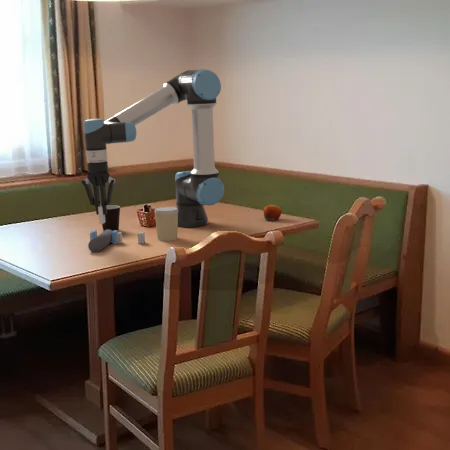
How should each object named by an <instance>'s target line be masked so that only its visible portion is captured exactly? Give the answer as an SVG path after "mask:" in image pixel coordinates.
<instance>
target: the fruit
mask: <svg viewBox="0 0 450 450" xmlns="http://www.w3.org/2000/svg"><path fill="white" fill-rule="evenodd" d="M282 213H283V210H282V208H281V207H280V206H278V205H276V204H269V205H266V206H264V208H263V217H264V219H265V220H266V221H273V222H275V221H278V220H279V219H280V217H281V216H282Z"/></svg>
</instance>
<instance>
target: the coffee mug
mask: <svg viewBox="0 0 450 450" xmlns="http://www.w3.org/2000/svg"><path fill="white" fill-rule="evenodd" d="M120 211H121V206H120V205H115V204H113V205H111V204H109V205H107V214H106V215H105V223H104V224H101V226H102V232H104V231H105V230H107V229H110V230H112V231H114V230H119V231H120Z"/></svg>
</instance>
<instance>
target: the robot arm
mask: <svg viewBox="0 0 450 450" xmlns="http://www.w3.org/2000/svg"><path fill="white" fill-rule="evenodd" d="M221 89H222V83H221V80H220V78H219V76H218V75H217V73H215V72H214V71H212V70H210V69H205V68H204V69H203V68H202V69H189V70H188V69H187V70H185V71H182V72H181V73H179V74H177V75H176V76H174V77H173V78H171V79H169V80H167V81H166V82H165V83H163V85H162V87H161V88H159V89H158V90H156V91H154V92H152V93H150V94H149V95H147V96H145V97H144V98H142V99H140V100H139V101H137V102H135V103H134V104H132V105H130V106H128V107H127V108H125V109H124V110H122V111H120V112H118V113H116V114H115V115H113V116H111V117H109V118H108V119H106V120H104V119H103V118H89V119H86V120H84V122H83V134H84V143H85V156H86V161H87V163H86V168H87V176H86V178H84V179H83V180H81V184H82V186H84V188H85V193H86V195H87V198H88V201H89V204H90V206H94V207H95V214H96V215H97V216H98V221H99V223H98V224H99V225H102V224H104V223H105V215H106V214H107V206H108V205H111V204H112V198H113V193H114V185H115V183H116V182H117V179H116V178H113V177H111V175H110V172H109V166H108V165H109V164H108V161H107V159H108V154H107V153H108V151H107V145H110V144H120V143H130V142H135V140H136V137H137V128H136V126H137V125H139V124H140V123H142V122H144V121H146V120H147V119H149V118H151V117H152V116H154V115H156V114H157V113H159V112H161V111H162V110H163V109H165V108H168V107H169V106H170V105H172V104H173V105H177V104H179V103H181V102H183V101H186V100H187V102H186V103H187V104H186V105H187V107H189V108H190V111H191V130H192V150H193V151H192V152H193V153H192V154H193V155H192V156H193V157H192V158H193V169H192V170H186V171H177V172H176V173H175V178H174V179H175V180H174V182H175V204H176V206H175V207H176V208H177V209H178V227H179V228H180V227H182V228H195V227H203V226H206V225H208V224H209V218H208V215H207V213H206V210H205V207H204V206H214V205H216V204H218V203H219V202H220V201H221V200H222V198H223V197H224V193H225V185H224V183H223V182H222V180H221V179H220V175H219V174H220V172H219V170H218V169H217V168H216V166H215V165H216V164H215V139H214V137H215V135H214V132H215V131H214V107H215V106H216V105H217V98H218V96H219V94H220V93H221V91H222V90H221ZM107 183H108V188H107V190H106V186H107V185H106V184H107ZM91 185H92V188H91ZM92 189H93V191H92ZM106 191H107V193H106Z"/></svg>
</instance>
